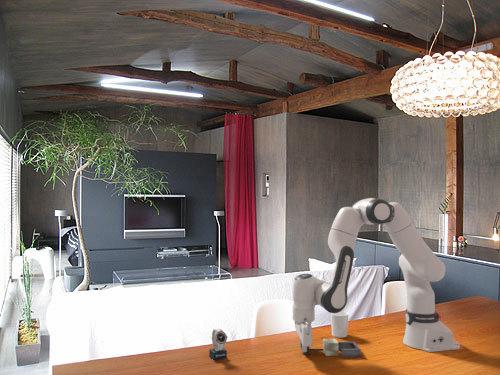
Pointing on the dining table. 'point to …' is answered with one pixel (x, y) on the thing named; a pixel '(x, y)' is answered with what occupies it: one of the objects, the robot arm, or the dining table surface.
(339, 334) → the white cup
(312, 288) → the robot arm
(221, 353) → the watch
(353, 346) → the dark grey tray
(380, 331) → the dining table surface
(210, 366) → the dining table surface
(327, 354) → the hammer
